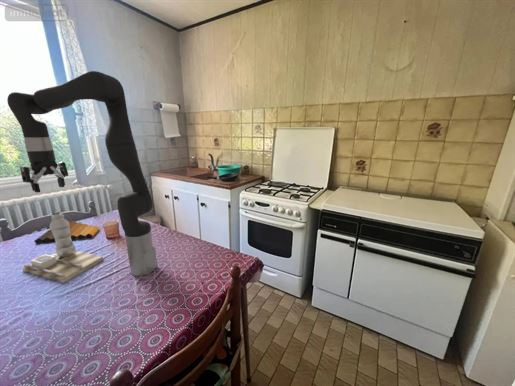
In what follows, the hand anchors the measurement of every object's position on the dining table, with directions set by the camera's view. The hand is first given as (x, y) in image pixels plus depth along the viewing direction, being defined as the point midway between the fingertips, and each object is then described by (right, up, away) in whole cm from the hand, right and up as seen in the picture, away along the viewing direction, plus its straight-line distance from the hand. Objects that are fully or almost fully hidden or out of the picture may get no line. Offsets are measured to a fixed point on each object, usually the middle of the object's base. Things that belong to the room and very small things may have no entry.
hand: (50, 189), depth 90 cm
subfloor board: (+2, -32, +4) cm, 33 cm away
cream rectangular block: (-3, -31, +1) cm, 31 cm away
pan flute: (-18, -23, +35) cm, 46 cm away
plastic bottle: (0, -29, +9) cm, 31 cm away
